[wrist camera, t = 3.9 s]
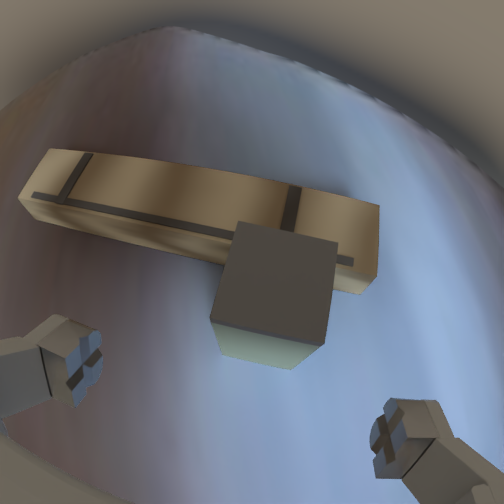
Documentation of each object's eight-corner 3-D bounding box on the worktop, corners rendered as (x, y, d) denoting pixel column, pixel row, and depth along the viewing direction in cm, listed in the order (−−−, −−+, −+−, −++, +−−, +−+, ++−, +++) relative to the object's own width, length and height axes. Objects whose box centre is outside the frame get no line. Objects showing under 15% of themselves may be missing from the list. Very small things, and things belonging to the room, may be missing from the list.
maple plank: (364, 229, 22) (380, 204, 19) (359, 294, 20) (377, 275, 17) (63, 171, 24) (49, 147, 21) (35, 219, 22) (16, 196, 19)
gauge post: (303, 306, 20) (338, 242, 12) (290, 370, 18) (324, 343, 11) (239, 292, 20) (238, 220, 13) (222, 354, 18) (209, 317, 11)
